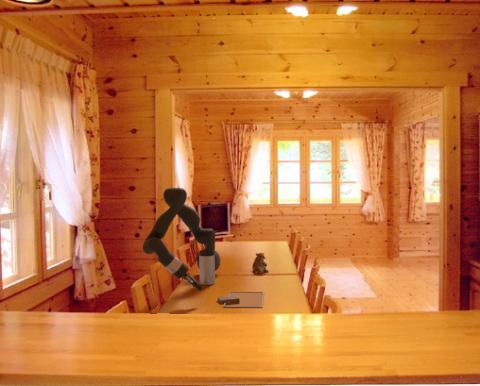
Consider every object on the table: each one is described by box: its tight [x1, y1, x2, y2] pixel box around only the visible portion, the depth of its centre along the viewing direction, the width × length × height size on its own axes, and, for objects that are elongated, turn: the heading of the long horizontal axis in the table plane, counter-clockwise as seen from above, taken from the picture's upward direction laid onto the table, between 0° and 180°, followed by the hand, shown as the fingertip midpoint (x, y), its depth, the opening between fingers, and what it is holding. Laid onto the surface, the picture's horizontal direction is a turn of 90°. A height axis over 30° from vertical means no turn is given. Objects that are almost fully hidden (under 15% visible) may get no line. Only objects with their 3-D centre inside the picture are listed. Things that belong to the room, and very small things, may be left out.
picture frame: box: [222, 291, 265, 309], centre depth 220 cm, size 19×1×28 cm
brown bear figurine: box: [251, 252, 269, 275], centre depth 287 cm, size 10×14×13 cm
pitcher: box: [191, 233, 221, 272], centre depth 281 cm, size 11×19×30 cm, turn 80°
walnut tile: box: [217, 295, 240, 305], centre depth 218 cm, size 2×6×10 cm
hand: (201, 289), depth 213 cm, fingers closed
